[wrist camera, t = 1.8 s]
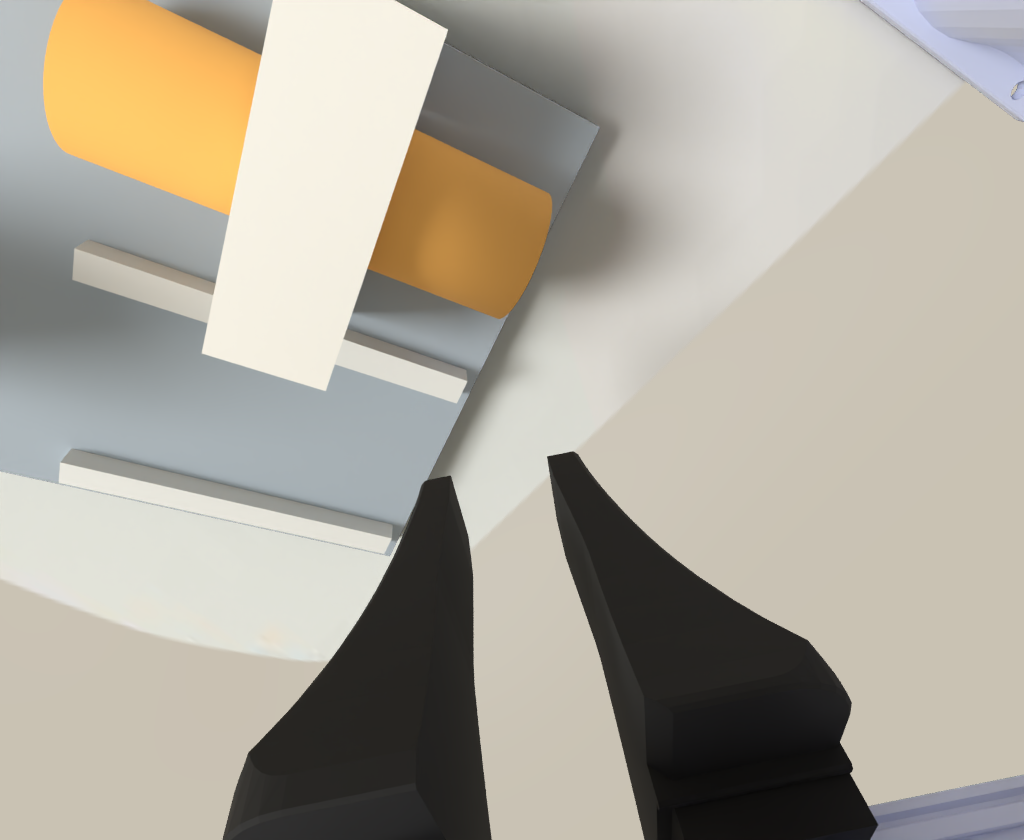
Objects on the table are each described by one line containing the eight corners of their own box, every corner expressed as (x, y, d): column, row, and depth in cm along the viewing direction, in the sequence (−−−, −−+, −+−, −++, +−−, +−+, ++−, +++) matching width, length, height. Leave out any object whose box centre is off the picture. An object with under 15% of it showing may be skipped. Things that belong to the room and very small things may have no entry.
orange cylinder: (536, 181, 17) (564, 207, 14) (487, 293, 19) (501, 339, 16) (134, -14, 14) (50, -36, 11) (115, 145, 15) (37, 166, 12)
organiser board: (590, 121, 18) (606, 131, 16) (391, 536, 27) (388, 570, 25) (-98, -252, 12) (-180, -295, 10) (-56, 433, 21) (-97, 468, 19)
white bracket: (443, 27, 15) (448, 29, 11) (347, 313, 19) (325, 391, 15) (326, -37, 14) (285, -61, 10) (252, 279, 18) (201, 353, 14)
